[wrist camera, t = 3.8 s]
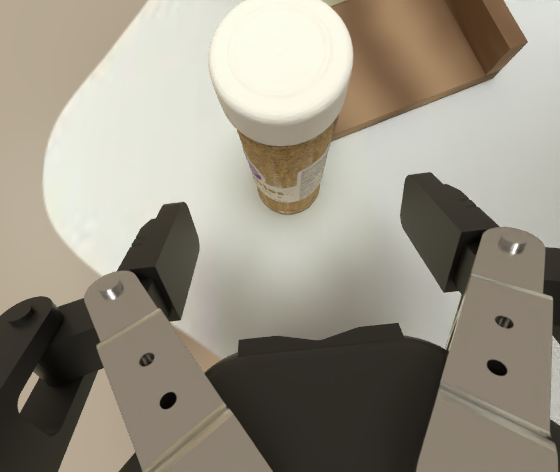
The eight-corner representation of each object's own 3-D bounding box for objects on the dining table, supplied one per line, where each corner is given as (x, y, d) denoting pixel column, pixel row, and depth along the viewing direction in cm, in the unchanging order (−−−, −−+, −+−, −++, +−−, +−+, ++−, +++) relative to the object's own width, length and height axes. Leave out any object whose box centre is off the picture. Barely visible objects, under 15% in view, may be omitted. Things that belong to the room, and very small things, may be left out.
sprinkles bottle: (245, 187, 23) (173, 54, 9) (288, 143, 23) (276, -45, 10) (290, 229, 22) (282, 150, 9) (333, 183, 22) (388, 41, 9)
